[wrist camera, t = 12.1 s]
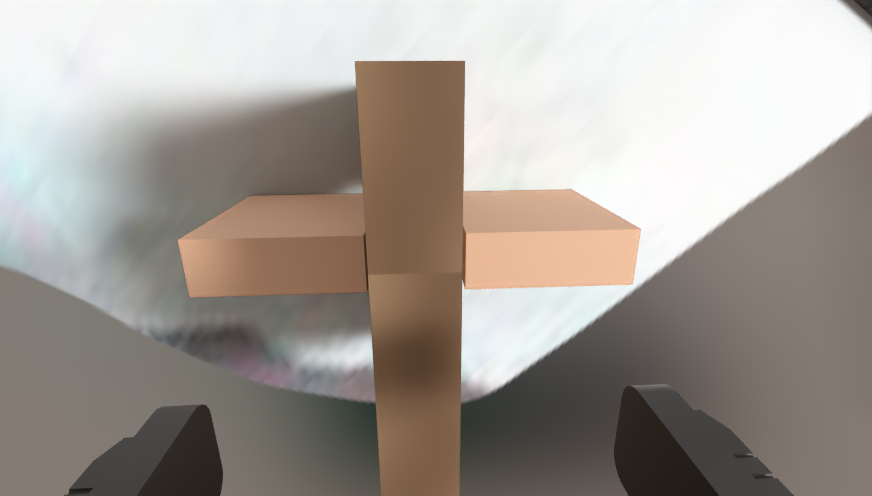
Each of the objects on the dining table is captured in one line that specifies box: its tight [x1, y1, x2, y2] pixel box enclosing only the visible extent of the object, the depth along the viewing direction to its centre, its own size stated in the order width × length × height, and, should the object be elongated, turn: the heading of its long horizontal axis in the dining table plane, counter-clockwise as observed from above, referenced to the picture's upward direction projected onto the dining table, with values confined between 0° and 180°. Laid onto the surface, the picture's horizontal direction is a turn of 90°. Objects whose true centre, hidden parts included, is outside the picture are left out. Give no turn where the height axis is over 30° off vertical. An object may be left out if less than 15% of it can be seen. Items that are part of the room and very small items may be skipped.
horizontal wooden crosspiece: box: [178, 190, 641, 297], centre depth 21 cm, size 18×2×8 cm, turn 91°
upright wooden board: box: [355, 61, 465, 496], centre depth 19 cm, size 2×14×14 cm, turn 0°
